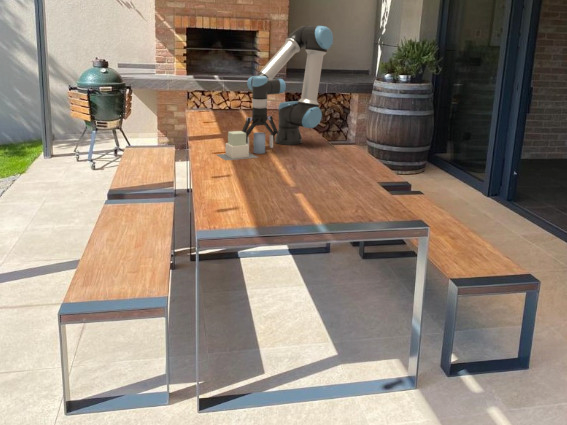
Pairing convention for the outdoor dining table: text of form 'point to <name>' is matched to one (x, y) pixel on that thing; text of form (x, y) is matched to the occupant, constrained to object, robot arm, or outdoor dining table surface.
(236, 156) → the tower base
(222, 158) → the mat
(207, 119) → the outdoor dining table surface
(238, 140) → the tower top
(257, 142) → the grey rounded cylinder
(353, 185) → the outdoor dining table surface
